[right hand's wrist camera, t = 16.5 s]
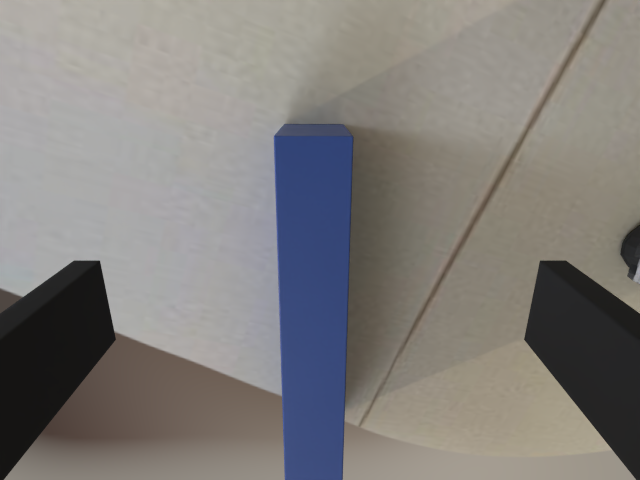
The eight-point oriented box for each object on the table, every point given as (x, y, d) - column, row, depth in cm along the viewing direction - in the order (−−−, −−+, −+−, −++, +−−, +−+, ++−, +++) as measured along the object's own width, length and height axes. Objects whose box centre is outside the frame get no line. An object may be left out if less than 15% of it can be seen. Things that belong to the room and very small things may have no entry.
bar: (284, 123, 31) (273, 135, 23) (343, 124, 31) (353, 135, 23) (290, 415, 40) (285, 493, 33) (336, 415, 40) (342, 493, 33)
